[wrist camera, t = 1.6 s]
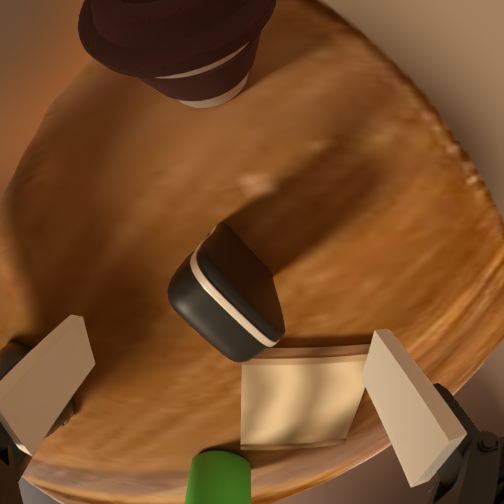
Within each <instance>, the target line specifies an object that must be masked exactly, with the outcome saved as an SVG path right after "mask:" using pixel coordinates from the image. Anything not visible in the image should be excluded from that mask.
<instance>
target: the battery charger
mask: <svg viewBox="0 0 504 504" xmlns="http://www.w3.org/2000/svg"><path fill="white" fill-rule="evenodd" d="M168 298H169V301H170V304H171V305H172V307H173V308H174V310H175V311H176V312H177V313H178V314H179V315H180V316H181V317H182V318H183V319H184V320H185V321H186V322H187V323H188V324H189V325H190V326H191V327H192V328H194V329H195V330H196V331H197V332H198V333H199V334H200V335H201V336H202V337H203V338H204V339H206V340H207V341H208V342H209V343H210V344H211V345H213V346H214V347H215V348H216V349H217V350H218V351H220V352H221V353H222V354H223V355H224V356H226V357H227V358H228V359H230V360H232V361H235V362H247V361H249V360H251V359H253V358H254V357H256V356H257V355H258V354H260V353H261V352H263V351H264V350H265V349H267V348H268V347H272V346H274V345H275V344H276V343H278V342H279V339H280V338H281V337H282V336H283V335H284V333H285V325H284V320H283V315H282V310H281V306H280V303H279V299H278V296H277V292H276V289H275V285H274V281H273V276H272V273H271V272H270V271H269V270H268V269H267V268H266V267H265V266H264V264H263V263H262V262H261V261H260V260H259V259H258V258H257V257H256V256H255V255H254V254H253V253H252V252H251V250H250V249H249V248H248V247H247V246H246V245H245V244H244V243H243V242H242V241H241V240H240V239H239V238H238V237H237V235H236V234H235V233H234V232H233V231H232V230H231V229H230V228H229V227H228V226H227V225H226V224H225V223H220V224H219V225H218V226H215V227H214V228H213V230H212V231H211V232H210V233H209V234H208V235H207V237H206V238H205V239H204V240H203V241H202V242H201V243H200V244H199V245H198V247H197V248H196V250H195V251H194V252H192V253H191V254H190V255H189V256H188V257H187V258H186V259H185V261H184V262H183V263H182V264H181V265H180V267H179V268H178V269H177V271H176V272H175V274H174V275H173V277H172V279H171V281H170V284H169V287H168Z"/></svg>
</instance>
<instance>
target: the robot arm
mask: <svg viewBox="0 0 504 504" xmlns="http://www.w3.org/2000/svg"><path fill="white" fill-rule="evenodd" d="M95 364H96V363H95V360H94V357H93V353H92V350H91V346H90V343H89V339H88V335H87V331H86V327H85V323H84V319H83V317H82V316H77V315H70V316H69V317H67V318H66V319H65V320H64V321H63V322H62V323H61V324H60V325H58V326H57V327H56V328H55V329H54V330H53V331H52V332H51V333H50V334H48V335H47V336H46V337H45V338H44V339H43V340H42V341H41V342H40V343H39V344H38V345H37V346H35V347H34V348H33V349H30V348H28V347H27V346H25V345H23V344H20V343H17V342H10V343H8V344H7V345H6V346H5V347H3V348H2V349H1V350H0V504H23V501H22V497H21V493H20V489H19V484H18V482H19V480H20V478H21V476H22V475H23V473H24V471H25V469H26V467H27V466H28V464H29V462H30V461H31V459H32V457H33V455H34V454H35V452H36V450H37V449H38V447H39V445H40V444H41V442H42V441H43V440H44V439H45V438H46V437H48V436H49V435H50V434H52V433H53V432H54V431H55V430H57V429H58V428H59V427H63V426H64V425H66V424H67V423H68V422H69V420H70V418H71V417H72V415H73V413H74V410H75V407H74V402H73V399H72V396H73V395H74V393H75V392H76V390H77V389H78V387H79V386H80V385H81V383H82V382H83V381H84V379H85V378H86V376H87V375H88V374H89V372H90V371H91V370H92V368H93V367H94V365H95ZM361 379H362V381H363V383H364V385H365V387H366V389H367V392H368V394H369V396H370V398H371V400H372V402H373V404H374V406H375V408H376V410H377V413H378V415H379V417H380V419H381V421H382V423H383V425H384V428H385V430H386V432H387V434H388V436H389V439H390V441H391V443H392V445H393V447H394V450H395V452H396V454H397V457H398V459H399V461H400V463H401V466H402V468H403V470H404V472H405V475H406V477H407V480H408V482H409V484H410V487H414V486H416V485H419V484H422V483H424V482H427V481H429V480H430V479H431V477H432V476H433V475H434V474H435V473H436V472H437V474H438V476H439V478H438V479H437V480H436V481H435V482H434V483H433V485H432V486H431V487H430V488H429V489H428V490H427V492H426V493H427V494H428V493H429V492H430V491H431V490H432V489H433V491H432V494H431V496H430V499H429V502H428V504H504V437H500V438H498V437H497V436H496V435H495V434H493V433H491V432H488V431H481V432H479V431H478V430H477V428H476V427H475V425H474V424H473V423H472V421H471V420H470V418H469V417H468V416H467V414H466V413H465V412H464V410H463V409H462V408H461V407H459V404H458V402H457V401H456V400H454V397H453V396H452V394H451V393H450V392H449V390H448V389H446V388H445V387H443V386H442V385H440V384H439V383H436V384H432V383H431V382H430V380H429V379H428V378H427V376H426V375H425V374H424V372H423V371H422V370H421V369H420V367H419V366H418V365H417V363H416V362H415V361H414V359H413V358H412V357H411V356H410V354H409V353H408V352H407V351H406V349H405V348H404V347H403V346H402V344H401V343H400V342H399V341H398V339H397V338H396V337H395V336H394V334H393V333H392V332H391V331H390V329H383V330H374V334H373V338H372V342H371V345H370V349H369V353H368V356H367V360H366V363H365V366H364V370H363V373H362V376H361Z"/></svg>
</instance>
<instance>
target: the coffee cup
mask: <svg viewBox="0 0 504 504" xmlns="http://www.w3.org/2000/svg"><path fill="white" fill-rule="evenodd" d="M275 4H276V0H85V1H84V3H83V5H82V9H81V11H80V14H79V22H78V32H79V36H80V40H81V43H82V45H83V47H84V49H85V50H86V51H87V52H88V53H89V54H90V55H91V56H92V57H93V58H94V59H96V60H97V61H99V62H100V63H102V64H103V65H104V66H106V67H108V68H109V69H111V70H113V71H115V72H118V73H121V74H124V75H128V76H134V77H138V78H139V79H141V80H143V81H144V82H146V83H147V84H149V85H150V86H152V87H154V88H155V89H157V90H158V91H160V92H161V93H163V94H165V95H166V96H168V97H171V98H174V99H176V100H178V101H179V102H181V103H183V104H185V105H187V106H190V107H195V108H210V107H215V106H218V105H221V104H224V103H225V102H227V101H229V100H231V99H232V98H233V97H235V96H236V95H237V94H238V93H239V92H240V91H241V89H242V88H243V87H244V85H245V83H246V81H247V78H248V74H249V71H250V69H251V67H252V65H253V62H254V59H255V55H256V51H257V47H258V42H259V38H260V34H261V30H262V29H263V27H264V26H265V25H266V23H267V22H268V20H269V19H270V17H271V15H272V13H273V10H274V8H275Z"/></svg>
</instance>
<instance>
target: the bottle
mask: <svg viewBox="0 0 504 504" xmlns="http://www.w3.org/2000/svg"><path fill="white" fill-rule="evenodd" d="M185 504H251V467H250V464H249V462H248V461H247V460H245V459H244V458H243V457H241V456H239V455H237V454H234V453H232V452H227V451H220V450H214V451H207V452H204V453H201V454H198V455H196V456H195V457H194V458H193V459H192V464H191V470H190V475H189V481H188V487H187V493H186V499H185Z"/></svg>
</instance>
